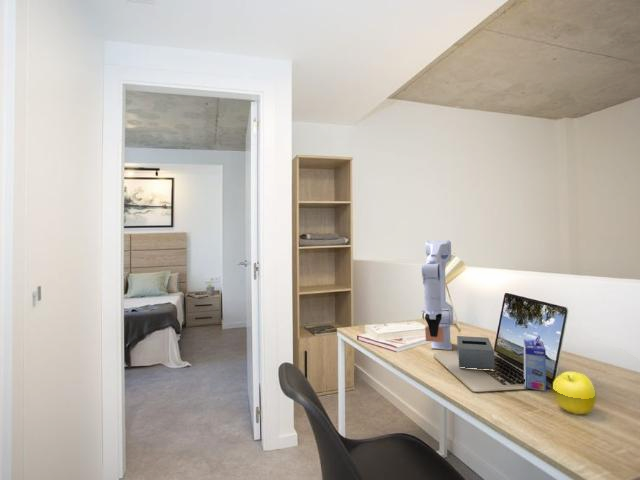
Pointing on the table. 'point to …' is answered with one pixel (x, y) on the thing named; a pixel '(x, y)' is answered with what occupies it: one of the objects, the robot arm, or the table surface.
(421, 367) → the table surface
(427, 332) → the reddish brown block
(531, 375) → the ink cartridge box
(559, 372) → the table surface
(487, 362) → the money box
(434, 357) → the table surface
